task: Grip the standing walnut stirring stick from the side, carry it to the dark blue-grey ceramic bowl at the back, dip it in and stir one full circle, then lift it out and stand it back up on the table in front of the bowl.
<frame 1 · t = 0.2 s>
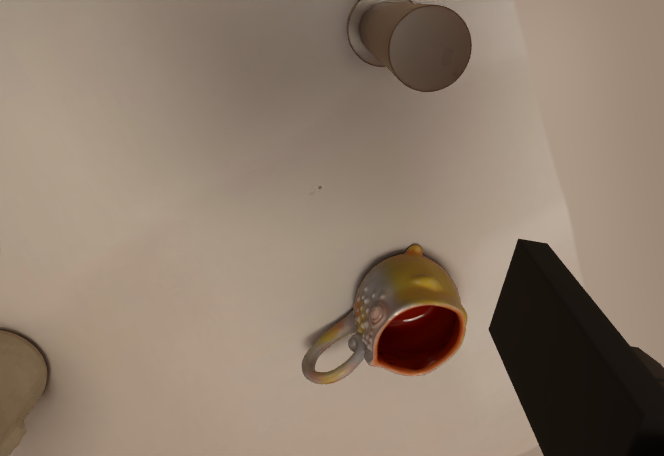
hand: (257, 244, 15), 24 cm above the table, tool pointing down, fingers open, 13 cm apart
mug: (372, 303, 43), on the table
stirring stick: (382, 28, 36), on the table
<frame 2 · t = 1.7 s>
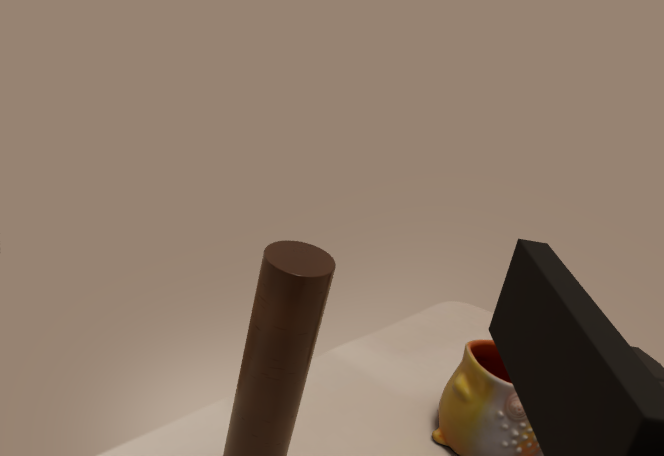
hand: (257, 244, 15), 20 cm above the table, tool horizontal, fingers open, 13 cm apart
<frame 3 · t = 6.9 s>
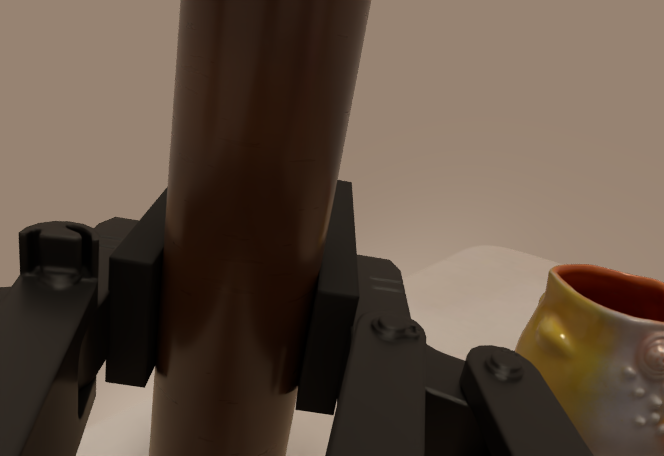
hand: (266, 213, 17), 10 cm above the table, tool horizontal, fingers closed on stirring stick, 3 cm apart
mug: (635, 451, 25), on the table
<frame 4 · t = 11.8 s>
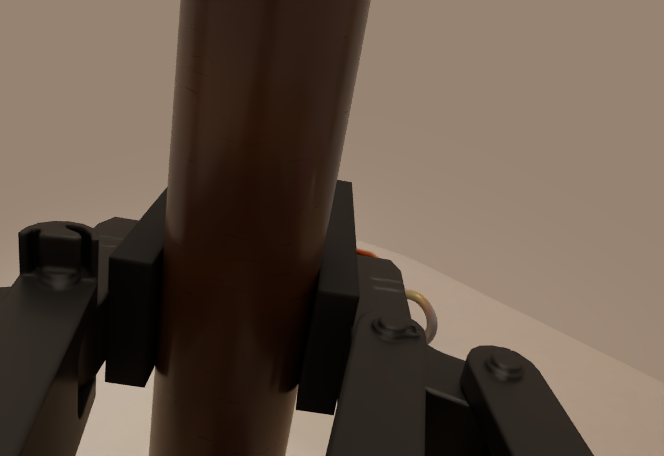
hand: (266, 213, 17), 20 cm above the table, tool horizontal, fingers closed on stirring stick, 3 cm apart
mug: (358, 340, 49), on the table
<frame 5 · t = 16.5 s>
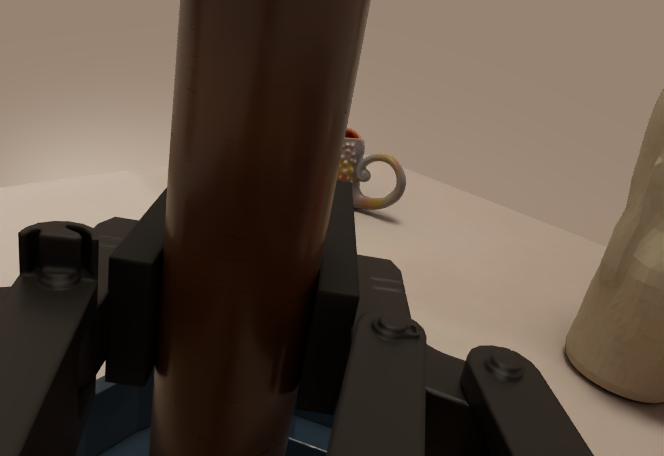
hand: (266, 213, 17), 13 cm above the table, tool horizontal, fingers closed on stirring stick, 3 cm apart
mug: (339, 205, 56), on the table
vase: (618, 377, 36), on the table
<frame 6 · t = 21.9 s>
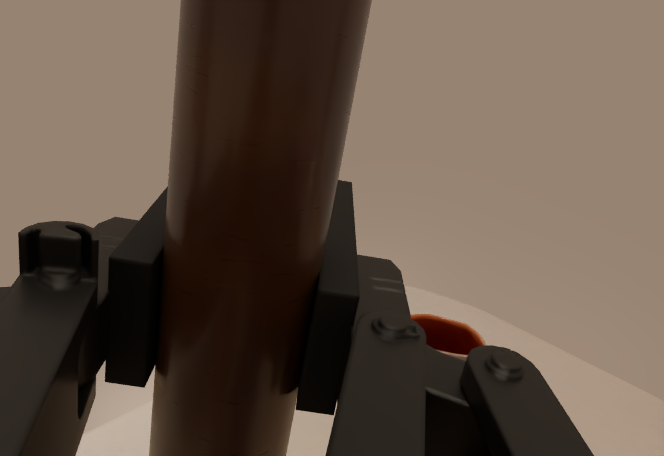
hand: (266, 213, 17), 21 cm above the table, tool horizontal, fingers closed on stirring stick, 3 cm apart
mug: (452, 428, 41), on the table
when the fingers open (9 cm above the table, at t = 26.4 s): stirring stick stays where it is, on the table.
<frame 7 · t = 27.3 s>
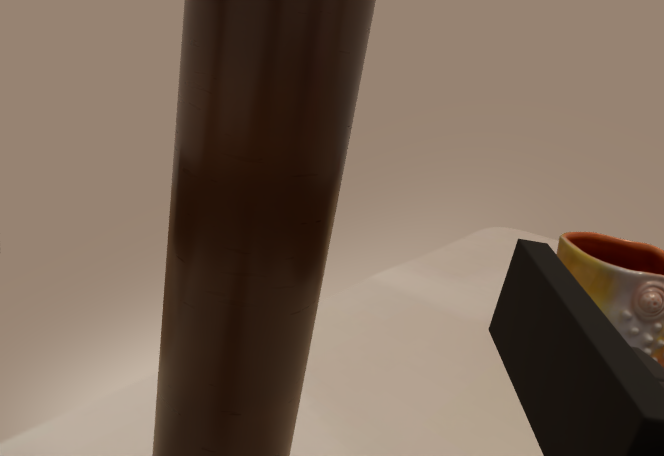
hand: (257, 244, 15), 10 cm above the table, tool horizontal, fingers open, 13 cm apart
mug: (631, 387, 30), on the table
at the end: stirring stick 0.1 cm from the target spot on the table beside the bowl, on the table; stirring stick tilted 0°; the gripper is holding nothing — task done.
